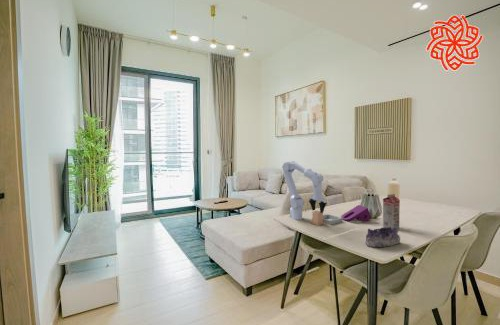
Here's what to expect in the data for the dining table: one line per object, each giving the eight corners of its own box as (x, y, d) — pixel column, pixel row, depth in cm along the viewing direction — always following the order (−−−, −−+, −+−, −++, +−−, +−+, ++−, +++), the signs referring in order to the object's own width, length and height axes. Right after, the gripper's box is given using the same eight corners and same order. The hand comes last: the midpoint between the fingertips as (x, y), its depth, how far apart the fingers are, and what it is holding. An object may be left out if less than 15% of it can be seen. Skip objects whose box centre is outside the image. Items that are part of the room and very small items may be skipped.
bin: (316, 221, 171) (316, 216, 171) (327, 218, 177) (327, 213, 177) (330, 226, 160) (330, 221, 160) (342, 223, 166) (342, 218, 165)
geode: (379, 252, 119) (376, 232, 120) (360, 246, 130) (358, 228, 131) (405, 243, 127) (403, 224, 128) (386, 238, 138) (383, 221, 139)
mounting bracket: (351, 231, 166) (372, 218, 168) (346, 221, 165) (367, 208, 167) (343, 227, 175) (363, 214, 178) (338, 217, 174) (358, 204, 177)
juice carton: (382, 226, 156) (383, 193, 155) (389, 225, 159) (390, 193, 157) (392, 229, 150) (392, 195, 149) (399, 228, 153) (399, 194, 151)
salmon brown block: (312, 223, 164) (312, 211, 163) (317, 221, 166) (317, 210, 166) (317, 225, 160) (317, 213, 159) (323, 223, 162) (323, 212, 161)
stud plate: (308, 224, 165) (308, 218, 164) (317, 222, 169) (317, 216, 169) (317, 227, 157) (317, 221, 157) (327, 225, 161) (327, 219, 161)
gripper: (329, 192, 157) (330, 212, 158) (314, 189, 170) (314, 208, 171) (322, 193, 154) (322, 214, 155) (306, 190, 166) (306, 209, 167)
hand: (317, 211), depth 162 cm, fingers open, 7 cm apart
